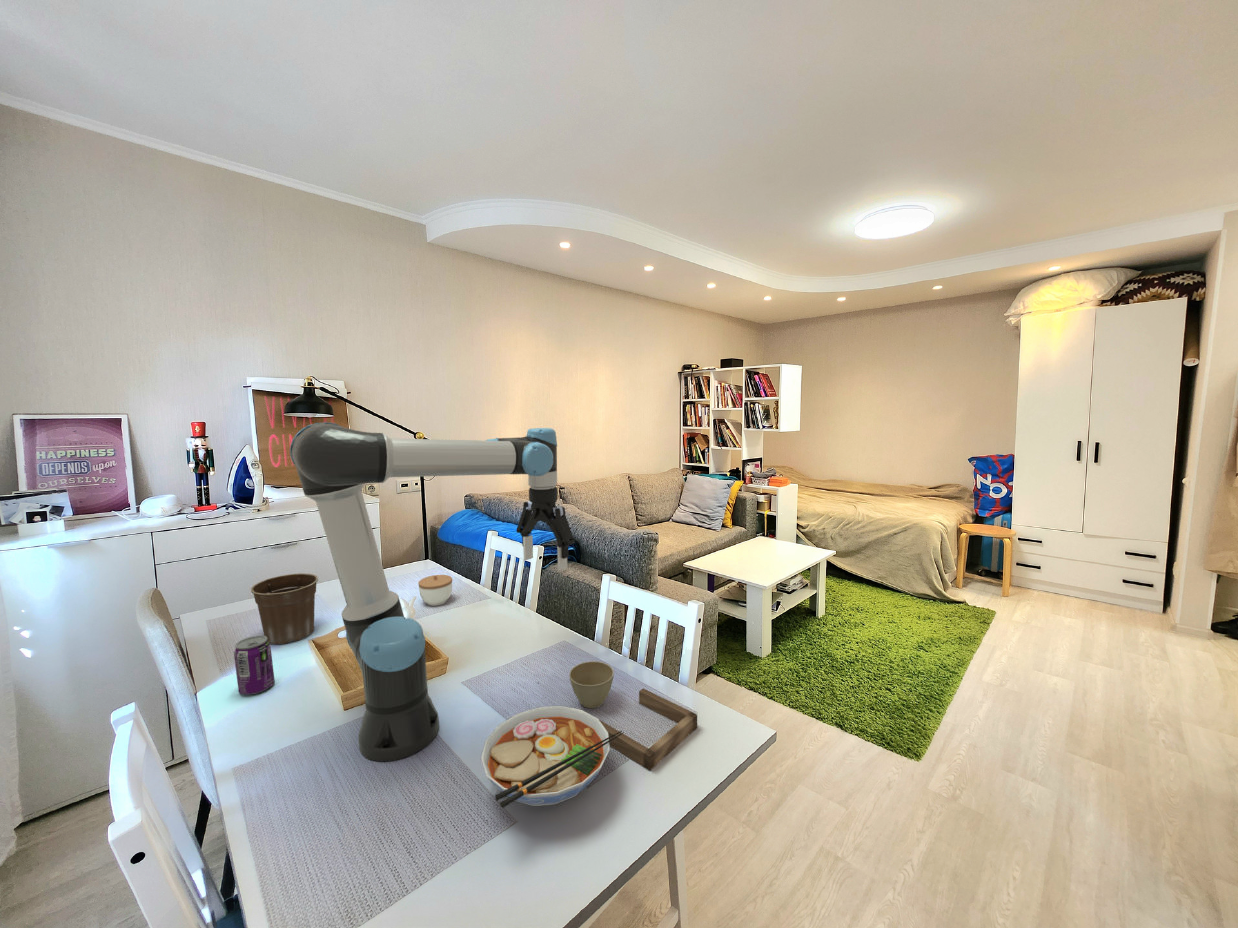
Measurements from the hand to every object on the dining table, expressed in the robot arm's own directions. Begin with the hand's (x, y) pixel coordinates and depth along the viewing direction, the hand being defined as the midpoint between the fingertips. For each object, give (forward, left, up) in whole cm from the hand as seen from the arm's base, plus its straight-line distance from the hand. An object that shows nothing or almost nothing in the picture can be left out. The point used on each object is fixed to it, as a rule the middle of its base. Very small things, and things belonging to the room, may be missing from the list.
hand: (544, 564), depth 136 cm
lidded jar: (-5, +52, -24) cm, 58 cm away
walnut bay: (-10, -42, -24) cm, 49 cm away
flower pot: (-10, -27, -24) cm, 37 cm away
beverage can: (-59, +38, -24) cm, 74 cm away
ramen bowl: (-32, -38, -24) cm, 55 cm away
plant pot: (-45, +63, -24) cm, 81 cm away
